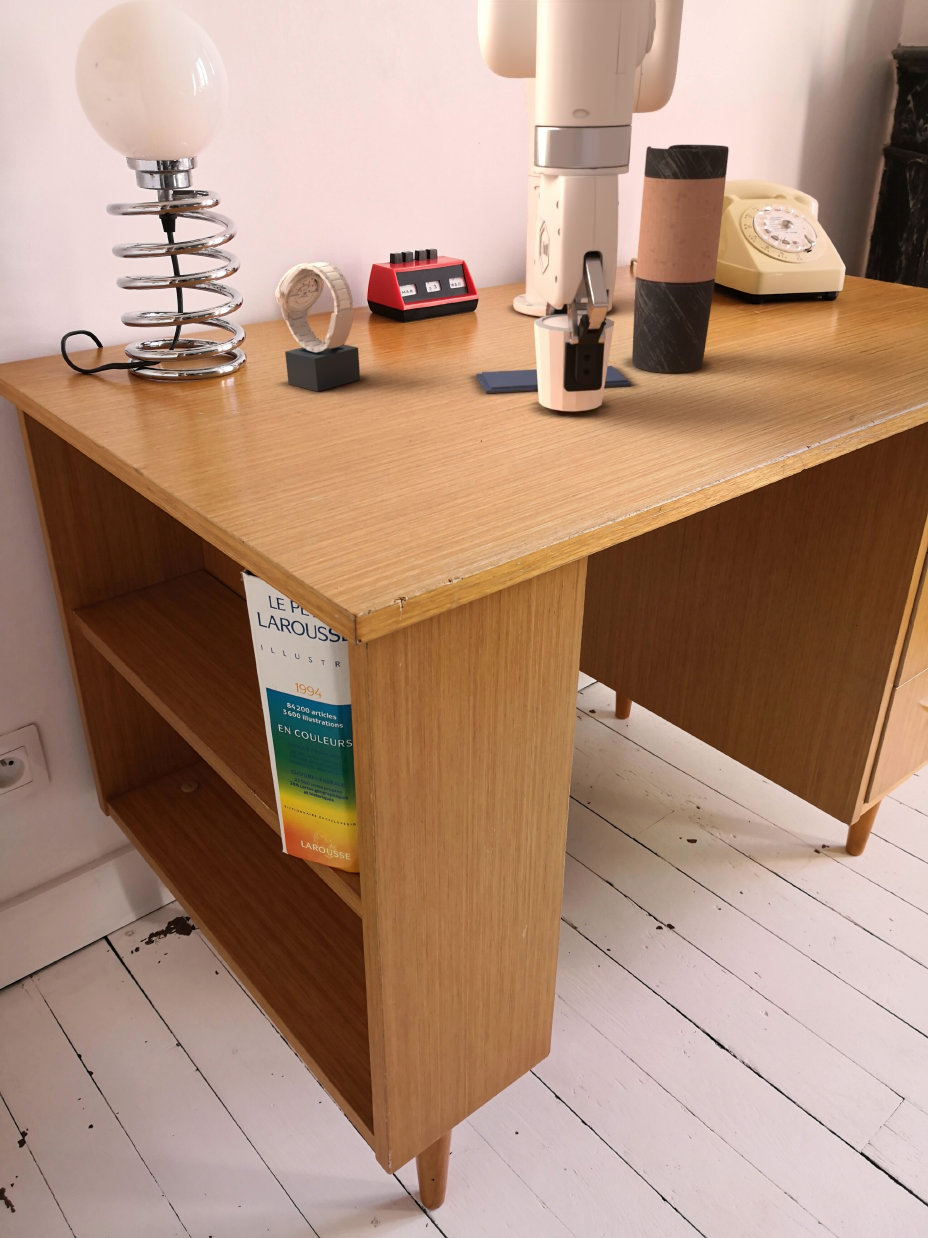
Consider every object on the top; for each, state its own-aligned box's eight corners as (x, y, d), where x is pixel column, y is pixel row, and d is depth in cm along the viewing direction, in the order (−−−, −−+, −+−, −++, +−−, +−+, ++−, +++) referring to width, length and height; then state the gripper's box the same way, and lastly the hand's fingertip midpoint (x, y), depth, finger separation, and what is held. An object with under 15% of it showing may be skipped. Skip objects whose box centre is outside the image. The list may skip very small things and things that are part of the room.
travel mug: (705, 375, 93) (732, 148, 83) (627, 372, 95) (644, 148, 85) (704, 356, 100) (728, 144, 90) (631, 353, 101) (646, 144, 91)
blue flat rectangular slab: (476, 376, 94) (476, 371, 94) (613, 369, 96) (613, 364, 95) (486, 393, 89) (486, 387, 88) (630, 385, 90) (631, 380, 90)
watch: (318, 368, 97) (308, 255, 92) (372, 382, 92) (365, 263, 87) (274, 380, 93) (262, 262, 88) (329, 395, 89) (319, 271, 83)
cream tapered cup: (578, 418, 80) (582, 334, 76) (516, 402, 84) (517, 321, 81) (624, 400, 84) (630, 319, 81) (563, 385, 88) (566, 308, 85)
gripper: (514, 146, 81) (511, 355, 90) (560, 161, 66) (551, 409, 75) (599, 144, 82) (588, 351, 91) (663, 158, 67) (642, 404, 76)
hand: (571, 376), depth 83 cm, fingers closed on cream tapered cup, 6 cm apart
